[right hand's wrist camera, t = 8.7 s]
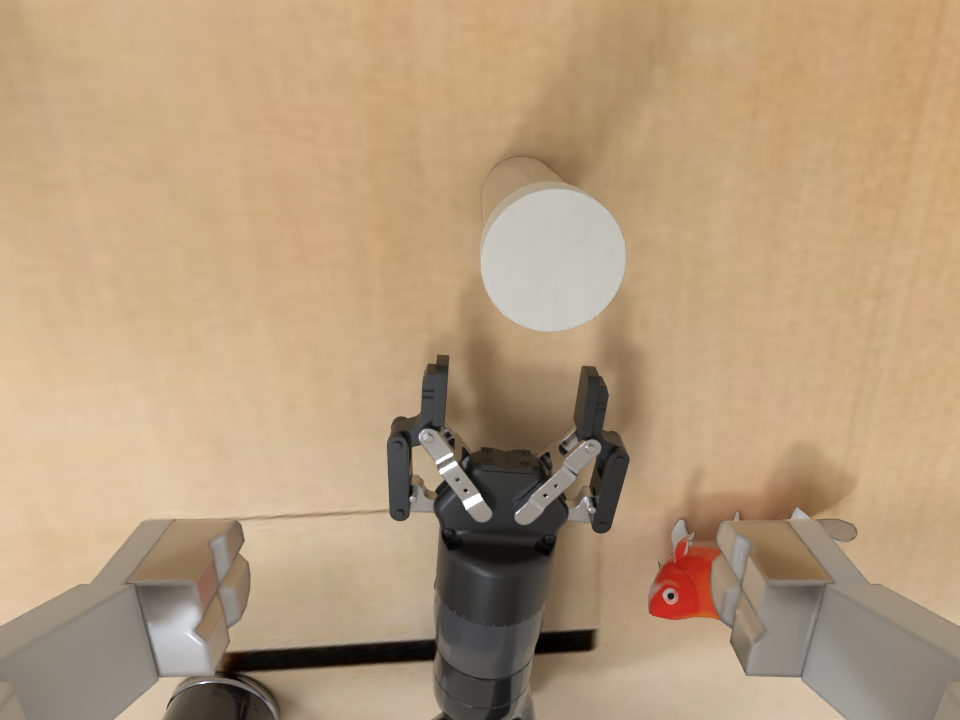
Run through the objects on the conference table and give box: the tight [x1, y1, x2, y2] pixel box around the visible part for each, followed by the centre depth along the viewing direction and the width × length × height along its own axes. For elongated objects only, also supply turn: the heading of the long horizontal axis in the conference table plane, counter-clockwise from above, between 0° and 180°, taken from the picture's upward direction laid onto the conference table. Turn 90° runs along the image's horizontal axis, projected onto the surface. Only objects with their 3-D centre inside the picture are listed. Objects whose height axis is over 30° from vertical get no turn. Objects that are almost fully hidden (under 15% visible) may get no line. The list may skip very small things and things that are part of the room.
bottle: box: [481, 157, 566, 227], centre depth 30 cm, size 5×5×16 cm
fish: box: [648, 507, 858, 620], centre depth 44 cm, size 11×16×10 cm
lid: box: [480, 181, 626, 332], centre depth 24 cm, size 5×5×2 cm
